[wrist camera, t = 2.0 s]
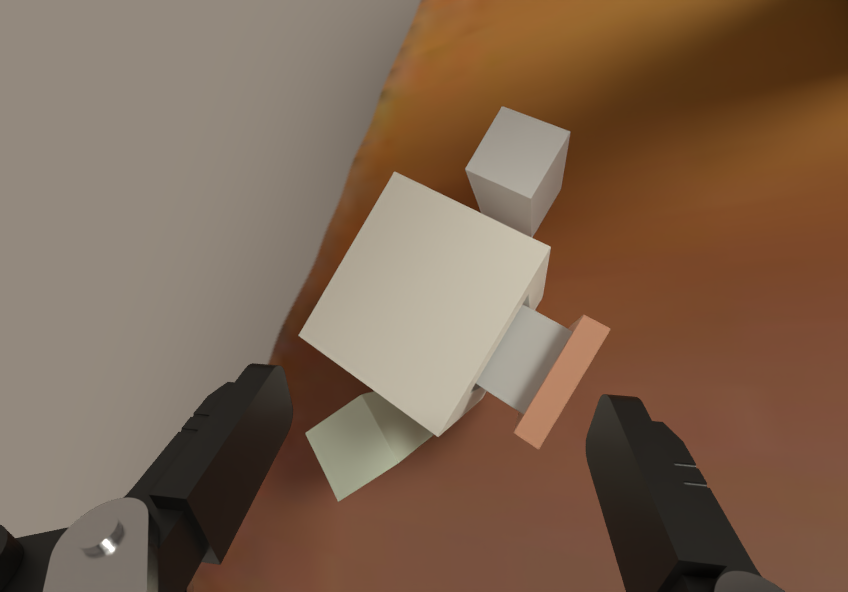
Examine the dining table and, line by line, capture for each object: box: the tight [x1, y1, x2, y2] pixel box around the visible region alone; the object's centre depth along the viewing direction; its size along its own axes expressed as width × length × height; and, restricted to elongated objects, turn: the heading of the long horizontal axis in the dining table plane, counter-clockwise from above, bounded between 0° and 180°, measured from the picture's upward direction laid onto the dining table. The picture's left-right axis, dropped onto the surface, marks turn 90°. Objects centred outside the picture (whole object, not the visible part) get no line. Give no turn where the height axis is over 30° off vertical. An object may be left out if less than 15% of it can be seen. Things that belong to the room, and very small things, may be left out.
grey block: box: [465, 106, 570, 238], centre depth 26 cm, size 4×4×8 cm
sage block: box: [305, 391, 433, 502], centre depth 27 cm, size 4×4×8 cm
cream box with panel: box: [298, 172, 551, 437], centre depth 23 cm, size 8×9×14 cm
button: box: [476, 304, 610, 449], centre depth 20 cm, size 9×6×6 cm, turn 58°
